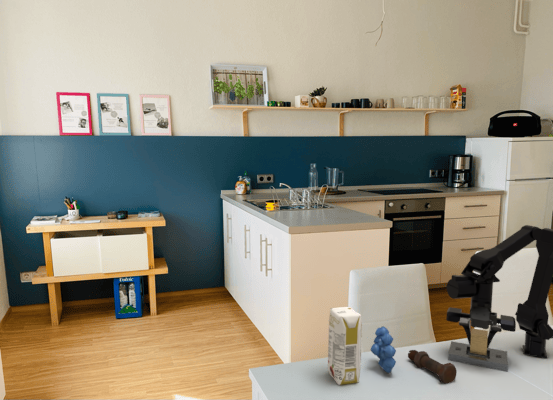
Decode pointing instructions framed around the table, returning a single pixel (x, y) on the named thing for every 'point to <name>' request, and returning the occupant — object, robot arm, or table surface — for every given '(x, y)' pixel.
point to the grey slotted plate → (495, 362)
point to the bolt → (433, 366)
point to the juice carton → (344, 345)
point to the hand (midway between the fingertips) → (478, 346)
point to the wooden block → (479, 341)
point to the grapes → (384, 349)
